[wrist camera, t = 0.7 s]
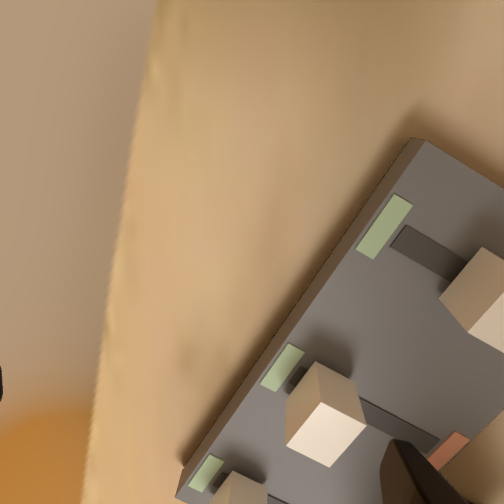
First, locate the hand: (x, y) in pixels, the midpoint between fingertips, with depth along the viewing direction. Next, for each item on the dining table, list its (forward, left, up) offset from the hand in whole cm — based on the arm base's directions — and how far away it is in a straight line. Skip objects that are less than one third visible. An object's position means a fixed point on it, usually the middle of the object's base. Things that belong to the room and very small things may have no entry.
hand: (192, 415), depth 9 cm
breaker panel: (-10, +4, -13) cm, 17 cm away
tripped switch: (-10, -5, -10) cm, 15 cm away
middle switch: (-7, +4, -10) cm, 13 cm away
